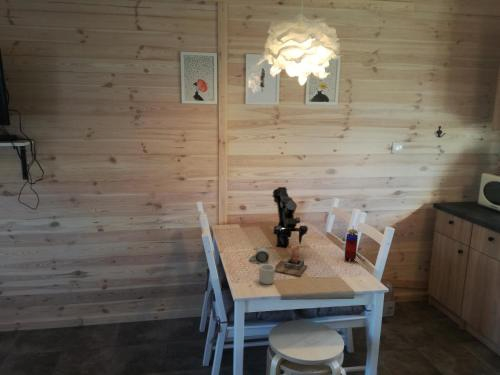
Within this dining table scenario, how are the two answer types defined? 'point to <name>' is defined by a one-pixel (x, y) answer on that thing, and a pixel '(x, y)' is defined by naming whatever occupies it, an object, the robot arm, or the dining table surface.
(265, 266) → the cup
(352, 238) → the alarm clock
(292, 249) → the peg
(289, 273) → the socket board
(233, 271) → the dining table surface
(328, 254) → the dining table surface
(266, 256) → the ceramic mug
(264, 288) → the dining table surface
